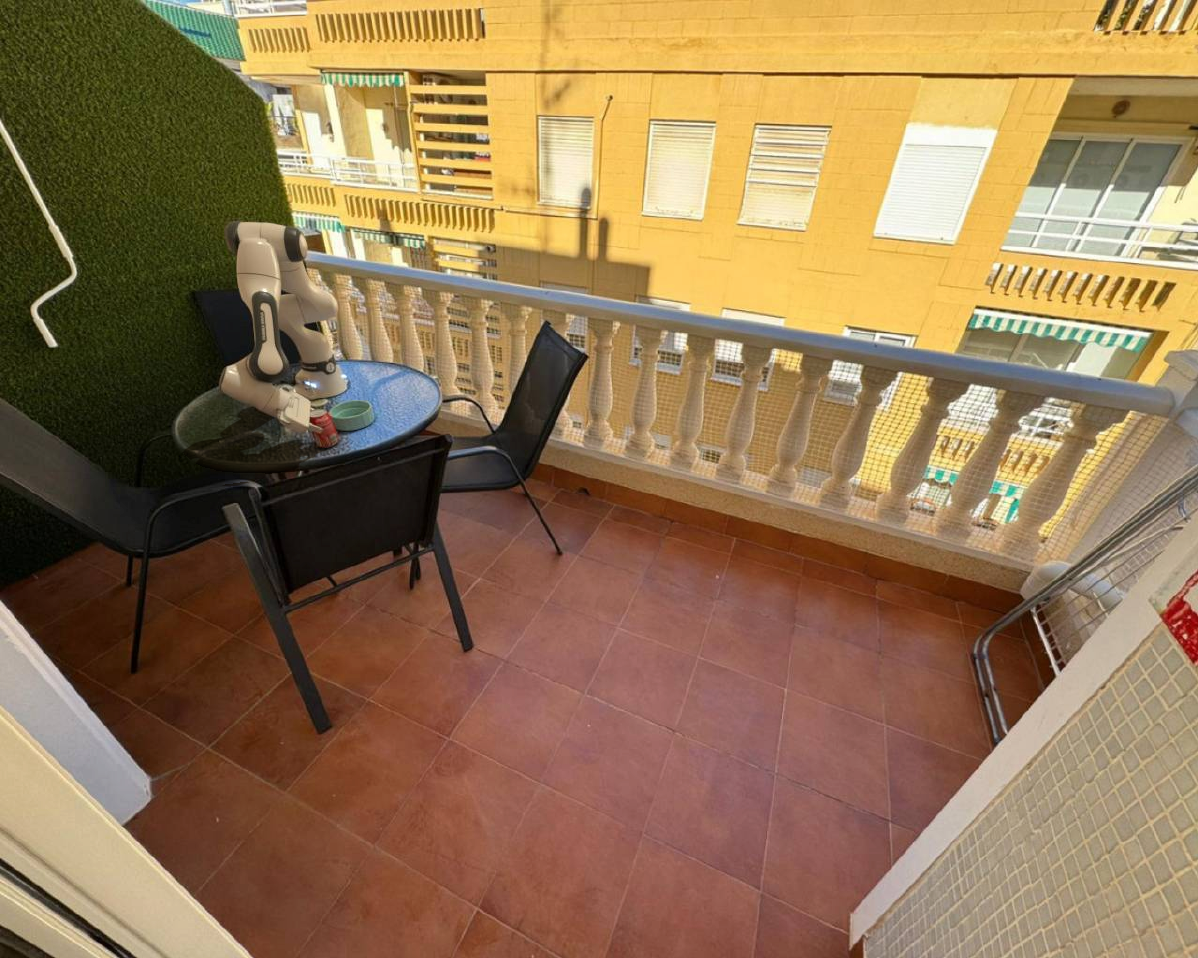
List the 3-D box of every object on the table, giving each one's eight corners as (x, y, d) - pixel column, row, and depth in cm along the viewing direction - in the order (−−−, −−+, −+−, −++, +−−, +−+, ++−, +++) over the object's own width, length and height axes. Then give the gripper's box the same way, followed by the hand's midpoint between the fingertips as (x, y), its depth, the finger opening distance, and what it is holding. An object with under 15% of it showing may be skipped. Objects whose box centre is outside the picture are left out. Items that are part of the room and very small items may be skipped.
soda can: (322, 439, 174) (310, 408, 167) (342, 438, 175) (331, 407, 168) (314, 449, 169) (301, 418, 162) (335, 448, 169) (324, 417, 162)
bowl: (325, 426, 181) (320, 413, 178) (355, 410, 192) (351, 397, 189) (353, 435, 176) (348, 421, 173) (383, 417, 187) (379, 404, 184)
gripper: (280, 410, 150) (326, 431, 159) (285, 383, 165) (327, 404, 174) (269, 425, 151) (316, 446, 160) (275, 398, 166) (317, 418, 175)
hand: (321, 424), depth 167 cm, fingers open, 8 cm apart
